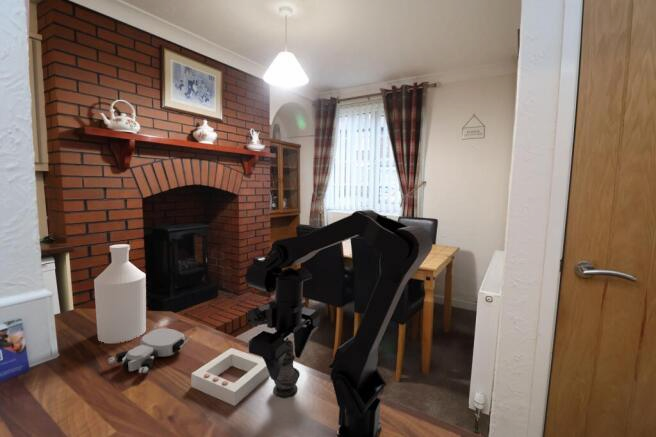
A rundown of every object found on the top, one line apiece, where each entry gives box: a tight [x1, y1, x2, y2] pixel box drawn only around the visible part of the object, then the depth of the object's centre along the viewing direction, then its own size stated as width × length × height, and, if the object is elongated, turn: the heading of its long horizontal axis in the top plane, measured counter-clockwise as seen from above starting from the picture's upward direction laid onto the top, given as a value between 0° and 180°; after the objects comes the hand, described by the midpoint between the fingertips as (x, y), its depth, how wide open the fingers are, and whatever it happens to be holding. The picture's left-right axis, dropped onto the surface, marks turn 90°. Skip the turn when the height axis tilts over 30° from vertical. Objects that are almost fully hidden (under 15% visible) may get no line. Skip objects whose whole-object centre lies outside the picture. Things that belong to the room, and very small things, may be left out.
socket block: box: [190, 347, 270, 407], centre depth 70 cm, size 12×12×3 cm
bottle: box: [93, 243, 147, 344], centre depth 87 cm, size 12×12×25 cm
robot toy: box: [107, 326, 193, 374], centre depth 77 cm, size 12×4×15 cm
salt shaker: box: [272, 337, 301, 399], centre depth 67 cm, size 6×6×12 cm
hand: (286, 367), depth 67 cm, fingers open, 9 cm apart
